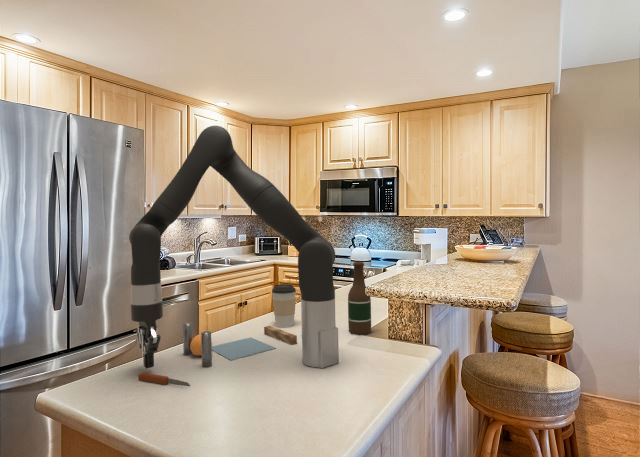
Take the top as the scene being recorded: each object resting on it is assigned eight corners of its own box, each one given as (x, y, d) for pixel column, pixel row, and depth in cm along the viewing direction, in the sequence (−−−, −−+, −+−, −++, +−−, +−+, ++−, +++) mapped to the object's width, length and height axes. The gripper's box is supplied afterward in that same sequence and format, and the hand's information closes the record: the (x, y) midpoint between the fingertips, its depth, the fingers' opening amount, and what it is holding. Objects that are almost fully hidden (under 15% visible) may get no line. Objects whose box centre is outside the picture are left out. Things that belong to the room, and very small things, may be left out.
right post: (213, 365, 106) (212, 332, 105) (204, 368, 104) (203, 334, 104) (209, 363, 108) (208, 330, 107) (200, 365, 106) (199, 332, 106)
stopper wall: (296, 343, 123) (296, 335, 123) (291, 344, 122) (291, 336, 122) (269, 333, 136) (269, 325, 136) (264, 334, 134) (264, 326, 134)
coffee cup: (298, 321, 150) (297, 282, 150) (294, 328, 141) (293, 286, 141) (275, 321, 151) (274, 282, 150) (270, 328, 142) (269, 286, 141)
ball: (218, 350, 115) (211, 333, 113) (200, 362, 111) (193, 345, 109) (208, 344, 119) (201, 328, 117) (190, 356, 115) (183, 339, 113)
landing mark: (276, 348, 119) (276, 347, 119) (230, 360, 109) (230, 359, 109) (250, 337, 130) (250, 337, 130) (207, 348, 121) (207, 347, 121)
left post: (194, 353, 116) (193, 323, 116) (185, 355, 114) (184, 325, 114) (190, 351, 118) (190, 321, 118) (182, 353, 116) (181, 323, 116)
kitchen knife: (137, 381, 97) (137, 373, 97) (142, 379, 98) (141, 371, 98) (188, 390, 91) (188, 382, 91) (192, 388, 92) (192, 380, 92)
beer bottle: (370, 335, 130) (369, 263, 129) (347, 335, 131) (345, 263, 131) (372, 329, 137) (370, 260, 137) (350, 328, 139) (348, 260, 138)
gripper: (170, 302, 99) (172, 370, 100) (153, 295, 110) (155, 357, 110) (138, 307, 95) (141, 378, 95) (124, 299, 105) (126, 364, 105)
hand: (148, 367), depth 102 cm, fingers closed
